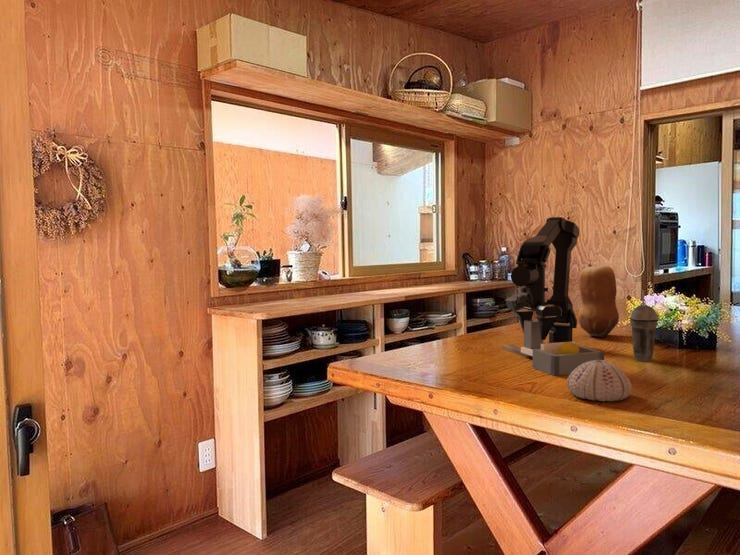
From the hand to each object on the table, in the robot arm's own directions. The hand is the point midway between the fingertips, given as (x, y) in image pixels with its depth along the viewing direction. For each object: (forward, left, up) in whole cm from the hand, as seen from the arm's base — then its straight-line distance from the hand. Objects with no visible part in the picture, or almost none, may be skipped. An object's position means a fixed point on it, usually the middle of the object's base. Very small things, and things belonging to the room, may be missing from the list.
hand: (534, 337), depth 168 cm
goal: (0, +16, -6) cm, 17 cm away
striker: (0, +5, -5) cm, 7 cm away
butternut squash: (-40, -23, -6) cm, 47 cm away
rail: (0, -8, -6) cm, 10 cm away
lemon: (0, +14, -5) cm, 15 cm away
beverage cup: (-27, +13, -6) cm, 31 cm away
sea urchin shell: (+9, +40, -6) cm, 41 cm away
